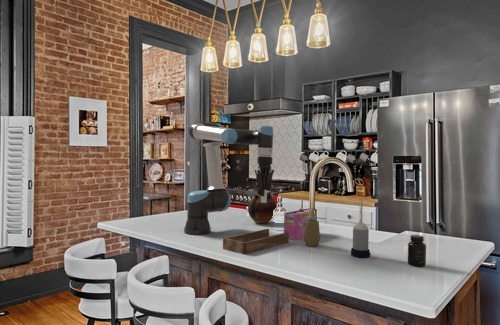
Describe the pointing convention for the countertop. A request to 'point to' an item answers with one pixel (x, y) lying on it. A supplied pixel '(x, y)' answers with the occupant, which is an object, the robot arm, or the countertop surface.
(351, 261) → the countertop surface
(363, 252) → the grey long nozzle bottle
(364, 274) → the countertop surface
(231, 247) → the u-shaped wooden frame
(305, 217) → the gum box
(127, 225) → the countertop surface
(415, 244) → the supplement bottle
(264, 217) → the ceramic vessel
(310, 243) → the squeeze bottle
